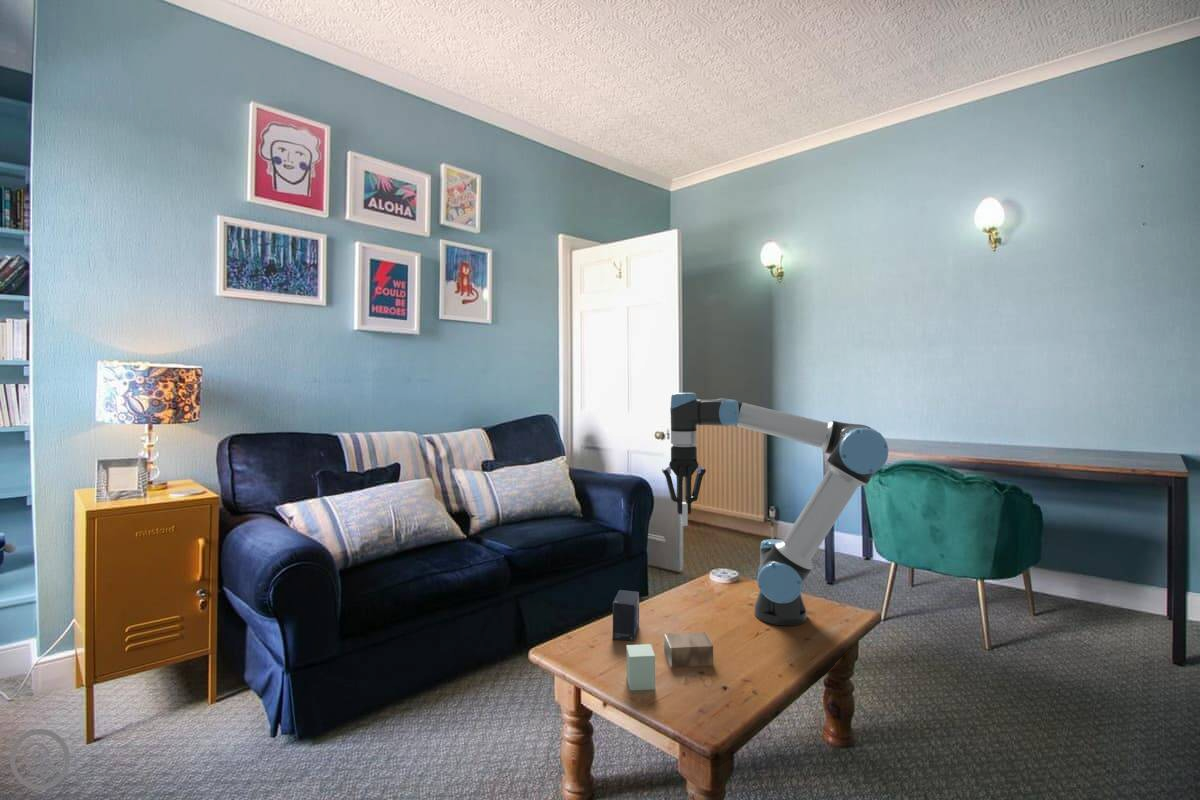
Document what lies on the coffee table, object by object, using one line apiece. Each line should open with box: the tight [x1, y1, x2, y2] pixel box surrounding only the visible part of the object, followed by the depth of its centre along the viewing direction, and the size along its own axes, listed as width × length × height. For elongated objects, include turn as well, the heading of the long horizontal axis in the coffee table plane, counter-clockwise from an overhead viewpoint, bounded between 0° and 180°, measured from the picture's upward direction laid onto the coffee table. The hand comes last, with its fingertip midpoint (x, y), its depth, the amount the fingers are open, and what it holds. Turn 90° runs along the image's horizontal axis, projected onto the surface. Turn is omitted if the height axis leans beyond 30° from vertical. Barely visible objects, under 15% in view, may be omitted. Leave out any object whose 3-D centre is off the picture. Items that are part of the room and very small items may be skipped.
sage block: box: [625, 643, 656, 691], centre depth 139 cm, size 6×6×8 cm
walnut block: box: [663, 632, 714, 668], centre depth 151 cm, size 5×8×11 cm
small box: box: [612, 589, 640, 642], centre depth 167 cm, size 11×6×10 cm, turn 168°
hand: (684, 524), depth 172 cm, fingers closed
